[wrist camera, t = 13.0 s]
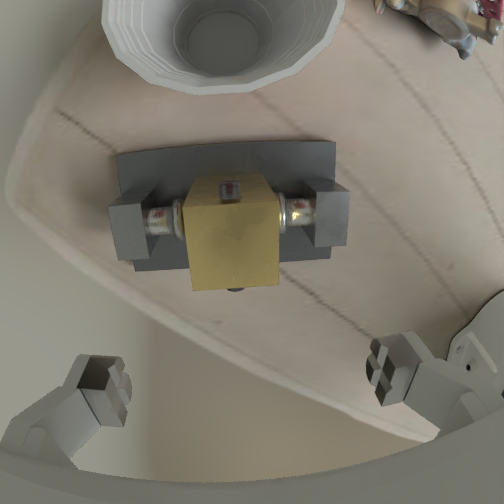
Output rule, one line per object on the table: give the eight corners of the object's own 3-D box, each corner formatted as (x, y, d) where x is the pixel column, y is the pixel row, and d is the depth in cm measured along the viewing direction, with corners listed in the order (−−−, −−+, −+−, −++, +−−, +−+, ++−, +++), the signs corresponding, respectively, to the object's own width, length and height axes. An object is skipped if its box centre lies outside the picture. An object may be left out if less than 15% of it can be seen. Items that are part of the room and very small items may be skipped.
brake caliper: (487, -5, 15) (546, 32, 9) (438, 52, 24) (477, 103, 18) (406, -71, 13) (449, -71, 7) (357, -4, 21) (376, 23, 16)
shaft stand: (326, 252, 28) (345, 280, 23) (138, 265, 27) (123, 296, 22) (330, 141, 24) (355, 148, 19) (120, 153, 23) (97, 164, 18)
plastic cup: (200, -33, 17) (188, -117, 6) (315, 27, 20) (383, -27, 9) (126, 70, 20) (52, 42, 9) (243, 131, 23) (261, 144, 12)
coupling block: (263, 243, 26) (278, 296, 19) (201, 247, 26) (194, 302, 18) (260, 163, 23) (278, 186, 16) (194, 167, 23) (180, 192, 15)
